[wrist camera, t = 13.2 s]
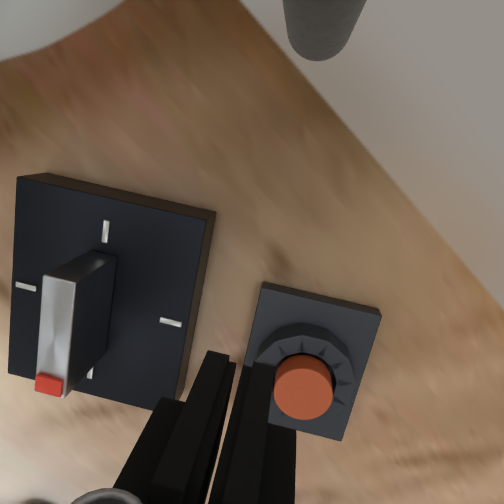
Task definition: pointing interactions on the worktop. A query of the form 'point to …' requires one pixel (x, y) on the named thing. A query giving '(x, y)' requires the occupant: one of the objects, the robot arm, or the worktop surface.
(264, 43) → the worktop surface
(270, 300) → the button block
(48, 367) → the lever
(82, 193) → the tap deck
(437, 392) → the worktop surface
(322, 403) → the button
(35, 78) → the worktop surface
